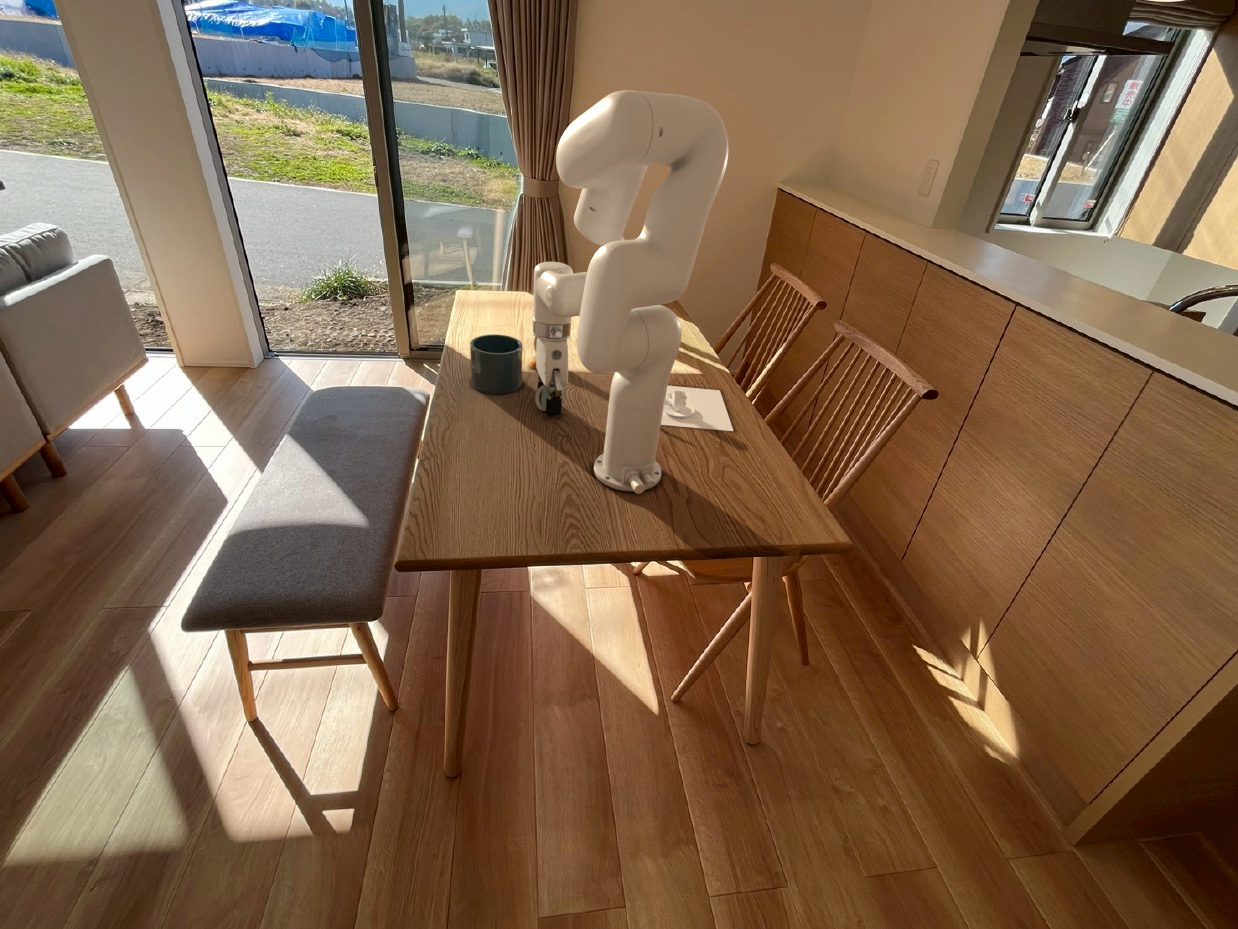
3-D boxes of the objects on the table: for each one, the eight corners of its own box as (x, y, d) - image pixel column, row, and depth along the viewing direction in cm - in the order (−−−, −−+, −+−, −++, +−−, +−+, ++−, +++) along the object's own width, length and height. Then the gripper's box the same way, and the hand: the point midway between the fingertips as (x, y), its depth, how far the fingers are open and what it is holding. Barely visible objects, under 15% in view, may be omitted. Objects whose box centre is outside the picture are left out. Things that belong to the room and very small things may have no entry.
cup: (525, 392, 134) (526, 353, 128) (474, 395, 130) (473, 354, 125) (516, 371, 142) (517, 333, 137) (469, 373, 139) (467, 334, 134)
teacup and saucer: (658, 398, 138) (660, 382, 136) (692, 401, 138) (695, 386, 136) (660, 416, 131) (663, 400, 128) (696, 420, 131) (699, 403, 129)
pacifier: (531, 410, 127) (559, 418, 128) (535, 397, 121) (564, 405, 122) (539, 381, 129) (565, 388, 130) (543, 367, 124) (571, 375, 125)
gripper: (581, 343, 113) (576, 424, 123) (559, 312, 127) (556, 388, 136) (542, 344, 111) (540, 427, 120) (524, 313, 124) (523, 390, 134)
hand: (549, 406), depth 128 cm, fingers closed on pacifier, 7 cm apart
